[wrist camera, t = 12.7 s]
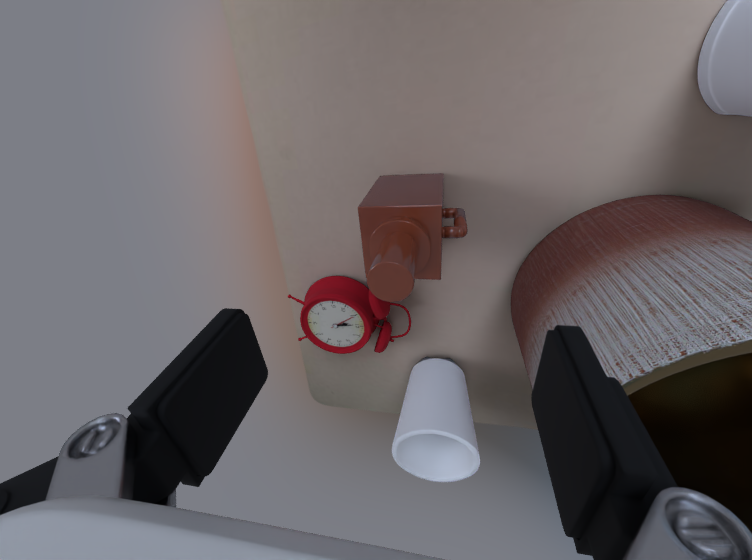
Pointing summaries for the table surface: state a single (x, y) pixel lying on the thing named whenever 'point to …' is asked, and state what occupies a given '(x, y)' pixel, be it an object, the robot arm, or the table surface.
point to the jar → (728, 60)
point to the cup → (436, 424)
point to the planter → (659, 326)
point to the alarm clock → (345, 315)
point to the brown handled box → (405, 232)
